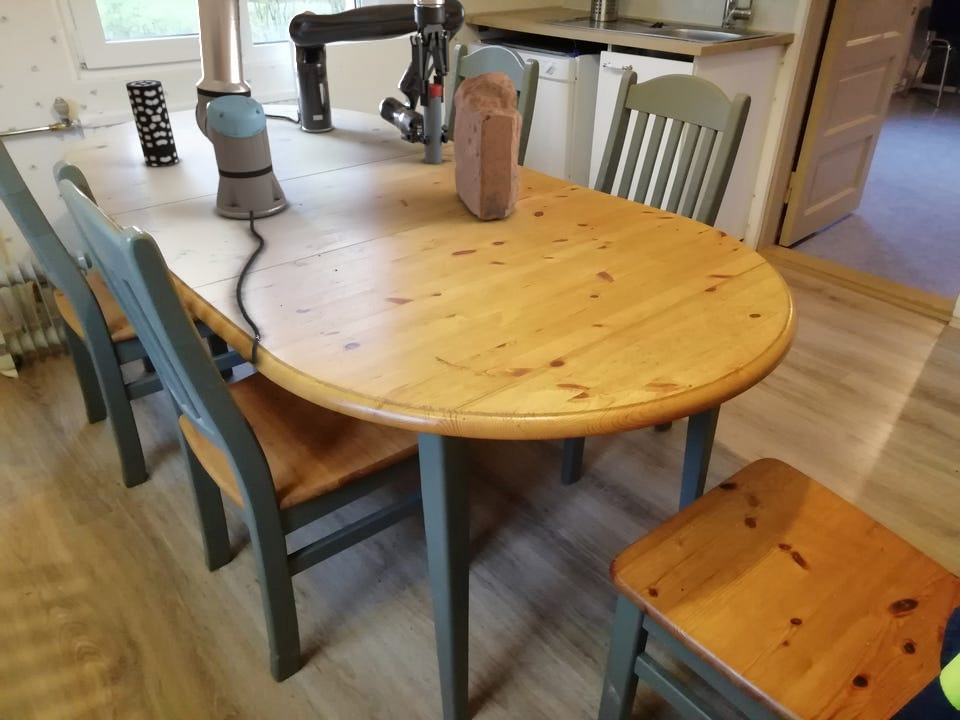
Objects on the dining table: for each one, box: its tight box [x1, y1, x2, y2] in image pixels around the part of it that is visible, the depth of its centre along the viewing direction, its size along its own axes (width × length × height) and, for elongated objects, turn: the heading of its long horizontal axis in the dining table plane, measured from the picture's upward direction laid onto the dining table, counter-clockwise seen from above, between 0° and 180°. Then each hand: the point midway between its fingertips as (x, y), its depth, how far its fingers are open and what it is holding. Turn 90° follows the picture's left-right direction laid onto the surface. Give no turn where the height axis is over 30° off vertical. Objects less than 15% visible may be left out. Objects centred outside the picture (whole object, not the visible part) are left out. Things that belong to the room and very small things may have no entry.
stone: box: [453, 71, 523, 221], centre depth 154 cm, size 22×11×28 cm, turn 18°
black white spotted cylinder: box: [125, 79, 179, 167], centre depth 181 cm, size 8×8×20 cm
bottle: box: [422, 96, 443, 165], centre depth 185 cm, size 5×5×19 cm
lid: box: [430, 82, 442, 97], centre depth 180 cm, size 5×5×2 cm
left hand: (432, 103), depth 182 cm, fingers closed on lid, 5 cm apart
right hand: (436, 140), depth 184 cm, fingers closed on bottle, 5 cm apart
